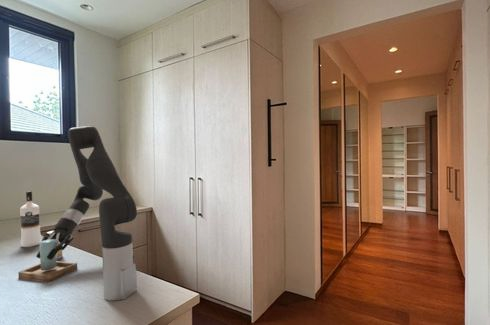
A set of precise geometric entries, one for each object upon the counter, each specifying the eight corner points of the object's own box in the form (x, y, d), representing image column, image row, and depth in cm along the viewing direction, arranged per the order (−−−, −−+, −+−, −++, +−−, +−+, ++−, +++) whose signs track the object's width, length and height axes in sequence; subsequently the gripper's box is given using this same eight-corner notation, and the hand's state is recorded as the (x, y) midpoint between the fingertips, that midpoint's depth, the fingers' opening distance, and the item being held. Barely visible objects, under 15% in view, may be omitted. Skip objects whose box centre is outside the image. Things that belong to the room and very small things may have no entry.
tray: (77, 268, 109) (77, 263, 109) (49, 282, 98) (49, 275, 98) (48, 265, 113) (48, 260, 113) (18, 278, 102) (18, 272, 102)
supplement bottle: (61, 254, 126) (60, 228, 126) (63, 258, 122) (62, 231, 121) (44, 258, 122) (42, 232, 122) (46, 262, 117) (44, 234, 117)
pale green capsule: (59, 265, 107) (58, 239, 107) (47, 271, 102) (45, 243, 102) (50, 264, 109) (49, 238, 108) (37, 269, 104) (36, 243, 103)
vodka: (44, 241, 149) (42, 189, 148) (38, 246, 141) (36, 191, 140) (24, 243, 145) (21, 191, 145) (17, 248, 137) (14, 193, 136)
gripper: (51, 216, 114) (23, 253, 103) (76, 217, 110) (50, 255, 99) (63, 224, 119) (37, 260, 108) (87, 226, 116) (63, 263, 104)
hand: (43, 258), depth 104 cm, fingers closed on pale green capsule, 5 cm apart
